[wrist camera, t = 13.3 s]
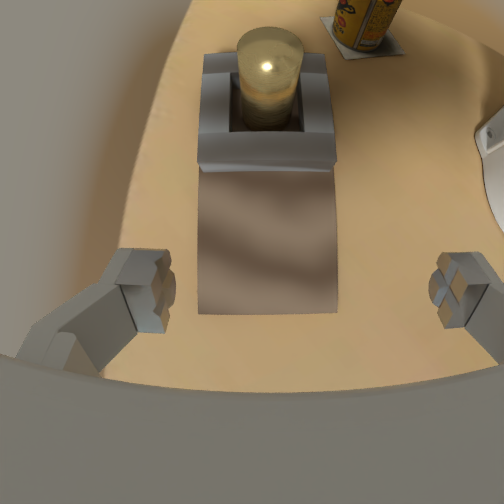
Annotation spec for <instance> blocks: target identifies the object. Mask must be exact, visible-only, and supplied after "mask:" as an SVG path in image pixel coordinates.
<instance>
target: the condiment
mask: <svg viewBox="0 0 504 504" xmlns="http://www.w3.org/2000/svg"><path fill="white" fill-rule="evenodd" d="M401 2H402V0H339V3H338V6H337V10H336V14H335V16H334V17H320V19H321V21H322V22H323V24H324V26H325V27H326V29H327V31H328V32H329V34H330V36H331V37H332V39H333V40H334V42H335V44H336V45H337V47H338V49H339V50H340V51H341V53H342V55H343V57H344V59H345V60H347V59H357V58H368V57H376V56H383V55H385V56H387V55H398V54H405V52H404V51H403V49H402V48H401V47H400V45H399V44H398V42H397V41H396V40H395V38H394V37H393V35H392V34H391V32H390V31H389V30H388V28H389V26H390V24H391V22H392V20H393V18H394V16H395V14H396V12H397V10H398V8H399V6H400V4H401Z"/></svg>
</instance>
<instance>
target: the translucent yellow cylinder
mask: <svg viewBox="0 0 504 504" xmlns="http://www.w3.org/2000/svg"><path fill="white" fill-rule="evenodd" d="M303 54H304V48H303V45H302V43H301V41H300V40H299V39H298V38H297V37H296V36H295V35H294V34H292V33H291V32H289V31H287V30H284V29H281V28H277V27H261V28H256V29H253V30H251V31H249V32H247V33H246V34H244V35H243V36H242V37H241V39H240V40H239V42H238V45H237V55H238V67H239V79H240V91H241V103H242V115H243V121H244V123H245V125H246V126H247V128H248V129H249V130H251V131H252V132H261V131H278V132H281V131H283V130H284V129H285V128H286V127H287V125H288V123H289V120H290V116H291V111H292V106H293V101H294V97H295V92H296V87H297V83H298V78H299V73H300V68H301V64H302V59H303Z"/></svg>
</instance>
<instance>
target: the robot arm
mask: <svg viewBox="0 0 504 504" xmlns="http://www.w3.org/2000/svg"><path fill="white" fill-rule="evenodd" d="M475 140H476V143H477V146H478V149H479V152H480V154H481V157H482V161H483V170H484V182H485V188H486V193H487V197H488V200H489V204H490V206H491V209H492V212H493V214H494V216H495V219H496V221H497V222H498V224H499V226H500V228H501V229H502V231H503V232H504V106H503V107H502V108H501V109H500V110H499V111H498V112H497V113H496V114H495V115H494V116H493V117H492V118H490V119H489V120H488V121H487V122H486V123H485V124H484V125H483V126H482V127H481V128H480V129H479V130H478V131H477V132H476V134H475ZM171 261H172V260H171V256H170V252H169V251H168V250H167V249H149V248H119V249H117V250H116V252H115V253H114V255H113V257H112V259H111V261H110V262H109V264H108V266H107V267H106V269H105V271H104V273H103V275H102V276H101V278H100V280H99V282H98V284H92V285H90V286H89V287H87V288H86V289H84V290H83V291H81V292H80V293H78V294H77V295H75V296H74V297H72V298H71V299H69V300H68V301H66V302H65V303H64V304H62V305H61V306H59V307H58V308H56V309H55V310H53V311H52V312H51V313H49V314H48V315H46V316H45V317H43V318H42V319H41V320H39V321H38V322H36V323H35V324H34V325H33V326H32V327H31V329H30V331H29V333H28V334H27V337H26V338H25V340H24V342H23V344H22V346H21V348H20V349H19V352H18V353H17V355H16V357H15V358H13V357H9V356H6V355H3V354H0V504H504V283H503V282H502V281H501V279H500V278H499V277H498V275H497V274H496V272H495V271H494V269H493V268H492V267H491V265H490V264H489V263H488V261H487V260H486V258H485V257H484V256H483V254H481V253H480V252H442V253H441V255H440V256H439V258H438V260H437V267H438V269H437V270H436V271H435V272H434V273H433V274H432V275H431V278H430V281H429V290H428V291H429V296H430V299H431V301H432V303H433V304H434V305H436V306H437V307H438V308H439V309H438V312H437V314H438V316H439V318H440V320H441V322H442V325H443V327H444V329H449V328H460V327H465V329H466V330H467V331H468V332H469V333H470V334H471V335H472V336H473V337H474V338H475V339H476V341H477V342H478V343H479V344H480V345H481V346H482V347H483V348H484V349H485V350H486V351H487V352H488V353H489V354H490V355H491V356H492V357H493V358H494V360H495V361H496V362H497V363H498V364H499V365H498V366H494V367H490V368H486V369H482V370H477V371H473V372H469V373H464V374H459V375H454V376H449V377H444V378H438V379H433V380H427V381H421V382H414V383H408V384H400V385H393V386H384V387H375V388H365V389H354V390H341V391H324V392H297V393H249V392H222V391H205V390H191V389H180V388H169V387H160V386H152V385H144V384H136V383H129V382H123V381H116V380H110V379H104V378H102V377H101V376H100V374H99V372H100V371H101V370H102V369H103V368H104V367H105V366H106V365H107V364H108V363H109V362H110V361H111V360H112V359H113V358H114V357H115V356H116V355H117V354H118V353H119V352H120V351H121V350H122V349H123V348H124V347H125V346H126V345H127V344H128V343H129V342H130V341H131V340H132V339H133V338H134V337H135V336H136V335H137V332H143V333H163V334H165V332H166V329H167V325H168V322H169V318H170V314H169V310H168V308H170V307H171V306H172V305H173V304H174V300H175V294H176V281H175V275H174V273H173V272H172V271H171V270H170V269H169V267H170V264H171Z"/></svg>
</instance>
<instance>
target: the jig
mask: <svg viewBox="0 0 504 504" xmlns="http://www.w3.org/2000/svg"><path fill="white" fill-rule="evenodd" d="M197 162H198V164H199V188H198V314H214V315H274V314H317V313H337V306H338V265H337V225H336V203H335V185H334V170H333V166H334V165H335V163H336V162H337V155H336V144H335V133H334V124H333V115H332V106H331V98H330V90H329V83H328V76H327V69H326V62H325V56H324V54H316V53H304V54H303V59H302V64H301V68H300V73H299V78H298V83H297V87H296V92H295V97H294V101H293V106H292V111H291V116H290V120H289V123H288V125H287V127H286V128H285V129H284V130H283V131H281V132H278V131H261V132H252V131H251V130H249V129H248V128H247V126H246V125H245V123H244V121H243V115H242V103H241V91H240V79H239V67H238V55H237V52H231V53H214V54H204V62H203V73H202V86H201V100H200V115H199V133H198V153H197Z"/></svg>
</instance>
